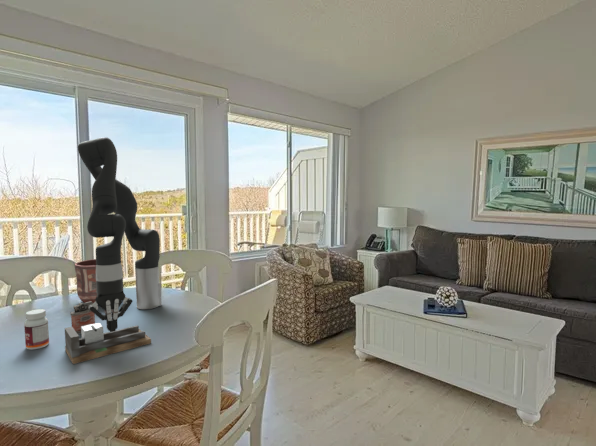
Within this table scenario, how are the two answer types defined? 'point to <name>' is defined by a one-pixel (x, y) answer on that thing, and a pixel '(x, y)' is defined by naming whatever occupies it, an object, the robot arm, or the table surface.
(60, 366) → the table surface
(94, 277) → the pottery
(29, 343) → the pill bottle
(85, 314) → the lighter
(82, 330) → the gauge slider
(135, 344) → the gauge track
